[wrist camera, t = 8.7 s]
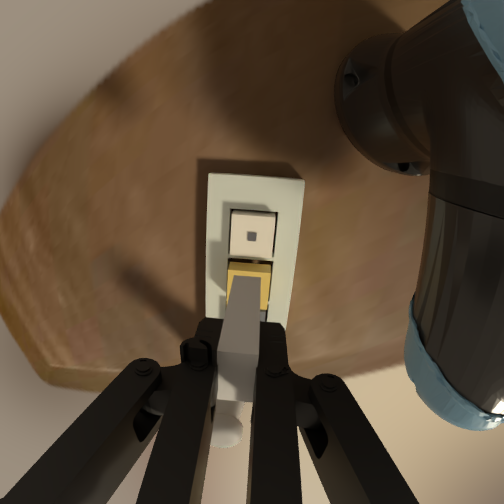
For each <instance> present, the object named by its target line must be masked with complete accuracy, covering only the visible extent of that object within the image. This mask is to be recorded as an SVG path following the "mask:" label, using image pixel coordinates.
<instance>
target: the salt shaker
mask: <svg viewBox="0 0 504 504" xmlns="http://www.w3.org/2000/svg"><path fill="white" fill-rule="evenodd" d="M244 403H245V402H241V401H230V400H221V399H216V413H215V419H214V425H213V431H212V437H211V443H210V445H212V446H215V447H219V448H228V447H232V446H234V445H236V444H238V443H239V442H240V441H241V438H242V434H243V426H242V423H241V422H240V421H239V418H240V415H241V412H242V409H243V406H244Z"/></svg>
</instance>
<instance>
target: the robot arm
mask: <svg viewBox="0 0 504 504" xmlns="http://www.w3.org/2000/svg"><path fill="white" fill-rule="evenodd" d="M334 97H335V105H336V110H337V114H338V117H339V120H340V123H341V125H342V127H343V129H344V131H345V133H346V135H347V136H348V138H349V139H350V141H351V142H352V144H353V145H354V146H355V147H356V148H357V150H358V151H359V152H360V153H361V154H362V155H363V156H365V157H366V158H367V159H368V160H370V161H371V162H372V163H374V164H375V165H377V166H379V167H381V168H383V169H385V170H388V171H391V172H395V173H399V174H403V175H409V176H422V175H428V174H430V186H429V194H428V208H427V219H426V228H425V237H424V244H423V252H422V258H421V265H420V271H419V276H418V282H417V287H416V292H415V293H414V295H413V298H412V300H411V301H410V305H409V325H408V330H407V335H406V340H405V346H404V360H405V366H406V370H407V373H408V376H409V378H410V380H411V381H412V382H413V383H414V384H415V386H416V392H417V393H418V395H419V397H420V398H421V399H422V400H423V402H424V403H425V404H426V405H427V406H428V407H429V408H430V409H431V410H432V411H433V412H434V413H435V414H437V415H438V416H439V417H441V418H442V419H444V420H446V421H447V422H449V423H451V424H453V425H455V426H458V427H461V428H464V429H468V430H475V431H484V430H489V429H493V428H495V427H497V426H498V425H499V424H500V423H504V0H450V1H448V2H447V3H445V4H444V5H443V6H441V7H440V8H438V9H437V10H435V11H434V12H432V13H431V14H430V15H428V16H427V17H425V18H424V19H423V20H421V21H420V22H419V23H417V24H416V25H414V26H413V27H412V28H410V29H409V30H408V31H407V32H405V33H392V34H381V35H377V36H373V37H371V38H368V39H366V40H364V41H363V42H361V43H360V44H358V45H357V46H356V47H355V48H354V49H353V50H352V51H351V52H350V53H349V54H348V55H347V56H346V57H345V59H344V60H343V62H342V63H341V65H340V67H339V70H338V73H337V76H336V80H335V89H334ZM260 296H261V277H251V276H238V275H234V277H233V281H232V285H231V290H230V294H229V299H228V303H227V308H226V312H225V317H224V319H219V318H209V317H205V318H204V319H203V320H202V321H201V322H199V325H198V328H197V331H196V334H195V336H194V338H190V339H187V340H185V341H183V342H182V343H181V345H180V355H181V363H180V364H178V365H175V366H169V367H160V365H159V364H158V363H157V362H156V361H154V360H153V359H149V358H139V359H136V360H134V361H132V362H131V363H129V364H128V366H127V367H126V368H125V369H124V370H123V371H122V372H121V373H120V374H119V375H118V376H117V377H116V378H115V379H114V380H113V381H112V382H111V383H110V384H109V385H108V386H107V387H106V388H105V390H104V391H103V392H102V393H101V394H100V395H99V396H98V397H97V398H96V399H95V400H94V401H93V402H92V403H91V404H90V405H89V407H87V409H86V410H85V411H84V412H83V413H82V414H81V415H80V416H79V417H78V418H77V419H76V420H75V421H74V422H73V423H72V425H70V427H69V428H68V429H67V430H66V431H65V432H64V433H63V434H62V435H61V436H60V437H59V438H58V439H57V440H56V441H55V442H54V443H53V445H52V446H51V447H50V448H49V449H48V450H47V451H46V452H45V453H44V454H43V455H42V456H41V457H40V459H39V460H38V461H37V462H36V463H35V464H34V465H33V466H32V467H31V468H30V469H29V471H27V473H26V474H25V475H24V476H23V477H22V478H21V479H20V480H19V481H18V482H17V483H16V485H15V486H14V487H13V488H12V489H11V490H10V491H9V492H8V493H7V494H6V495H5V497H4V498H1V499H0V504H106V503H107V502H108V501H109V499H110V498H111V496H112V495H113V494H114V492H115V491H116V489H117V488H118V487H119V485H120V484H121V482H122V481H123V480H124V478H125V477H126V475H127V474H128V472H129V471H130V470H131V468H132V467H133V465H134V464H135V463H136V461H137V460H138V458H139V457H140V455H141V453H143V451H144V450H145V448H146V447H147V445H148V444H149V442H150V441H151V440H152V438H153V436H154V435H155V434H156V432H157V431H158V429H159V431H158V433H157V436H156V440H155V442H154V446H153V449H152V452H151V455H150V458H149V462H148V465H147V468H146V471H145V475H144V478H143V481H142V485H141V488H140V491H139V494H138V498H137V502H136V504H201V498H202V492H203V486H204V480H205V473H206V467H207V460H208V455H209V449H210V443H211V437H212V431H213V425H214V419H215V413H216V399H221V400H230V401H241V402H253V407H252V415H251V437H250V452H249V469H248V484H247V499H246V504H302V491H301V476H300V461H299V447H298V435H297V426H299V430H300V432H301V435H302V437H303V440H304V442H305V444H306V447H307V449H308V451H309V454H310V456H311V459H312V461H313V464H314V466H315V468H316V471H317V473H318V475H319V478H320V480H321V482H322V485H323V487H324V490H325V492H326V494H327V497H328V499H329V501H330V503H331V504H419V502H418V501H417V499H416V498H415V496H414V494H413V493H412V491H411V489H410V488H409V486H408V484H407V483H406V481H405V479H404V478H403V476H402V475H401V473H400V471H399V470H398V468H397V466H396V465H395V463H394V461H393V460H392V458H391V457H390V455H389V453H388V452H387V450H386V449H385V447H384V445H383V444H382V442H381V440H380V439H379V437H378V435H377V434H376V432H375V431H374V429H373V427H372V426H371V424H370V423H369V421H368V419H367V418H366V416H365V414H364V413H363V411H362V410H361V408H360V407H359V405H358V403H357V402H356V400H355V398H354V397H353V395H352V394H351V392H350V390H349V389H348V387H347V386H346V384H345V382H344V381H343V380H342V379H341V378H340V377H338V376H336V375H333V374H329V373H328V374H320V375H317V376H315V377H314V378H313V379H312V380H311V379H307V378H303V377H301V376H298V375H297V374H295V373H294V372H293V371H291V368H290V367H289V365H288V355H287V345H286V335H285V329H284V327H283V326H282V325H281V323H277V322H263V321H260Z"/></svg>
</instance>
